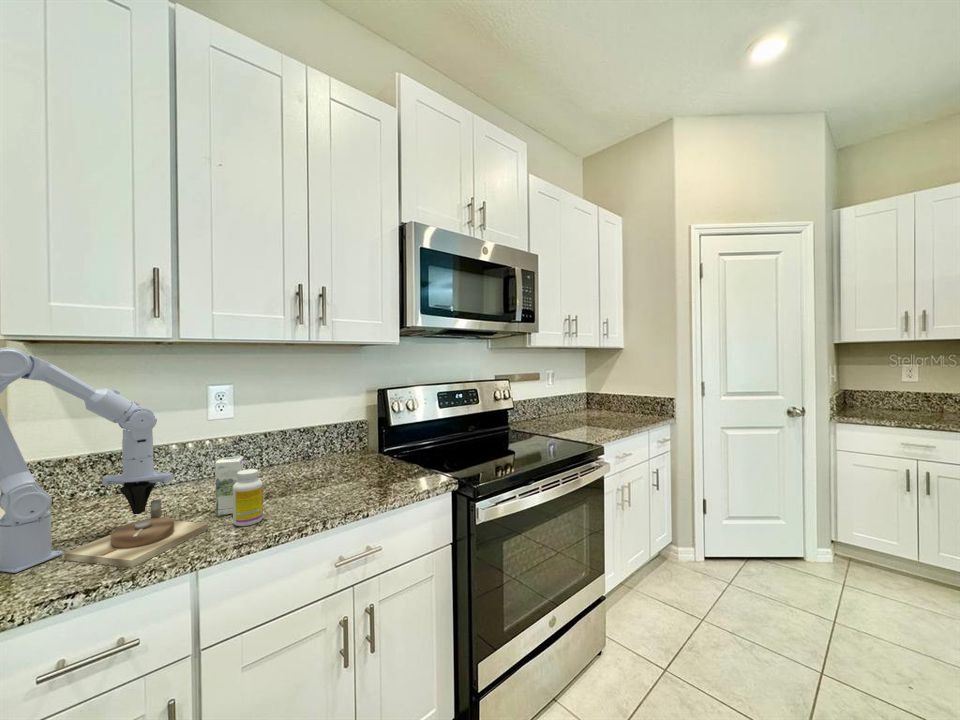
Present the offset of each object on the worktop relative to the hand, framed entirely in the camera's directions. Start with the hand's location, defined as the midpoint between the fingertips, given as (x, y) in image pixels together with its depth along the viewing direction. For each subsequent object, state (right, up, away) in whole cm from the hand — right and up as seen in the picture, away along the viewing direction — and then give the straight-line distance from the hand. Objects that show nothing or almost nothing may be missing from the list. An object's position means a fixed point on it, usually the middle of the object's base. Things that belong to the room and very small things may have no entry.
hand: (138, 512), depth 98 cm
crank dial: (+6, -2, -6) cm, 9 cm away
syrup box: (+15, -4, +11) cm, 19 cm away
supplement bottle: (+24, -4, +5) cm, 25 cm away
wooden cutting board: (+7, -4, -7) cm, 11 cm away
